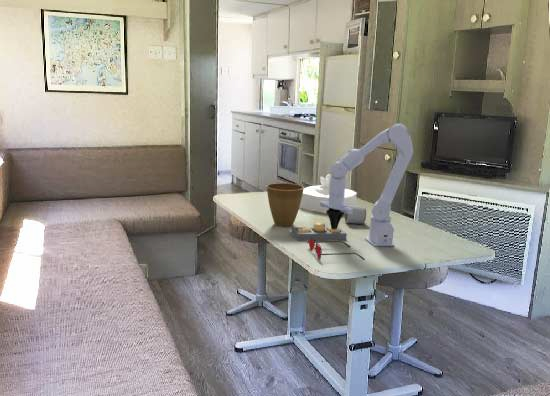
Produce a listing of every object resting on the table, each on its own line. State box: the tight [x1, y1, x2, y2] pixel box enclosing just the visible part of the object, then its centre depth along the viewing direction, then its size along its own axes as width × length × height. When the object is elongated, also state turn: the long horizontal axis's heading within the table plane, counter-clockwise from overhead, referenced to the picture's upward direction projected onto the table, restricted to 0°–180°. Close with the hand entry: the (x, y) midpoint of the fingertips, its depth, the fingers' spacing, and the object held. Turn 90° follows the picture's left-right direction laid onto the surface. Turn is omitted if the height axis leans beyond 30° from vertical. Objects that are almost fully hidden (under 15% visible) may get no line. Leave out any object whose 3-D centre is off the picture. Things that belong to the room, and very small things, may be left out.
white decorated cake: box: [299, 173, 358, 214], centre depth 241 cm, size 25×25×16 cm
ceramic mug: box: [344, 205, 367, 225], centre depth 215 cm, size 11×8×8 cm
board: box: [289, 226, 348, 241], centre depth 194 cm, size 13×19×2 cm
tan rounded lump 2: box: [328, 226, 341, 232], centre depth 194 cm, size 4×4×3 cm
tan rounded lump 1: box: [312, 221, 326, 232], centre depth 192 cm, size 4×4×3 cm
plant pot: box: [266, 182, 305, 228], centre depth 205 cm, size 15×15×16 cm
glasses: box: [306, 237, 366, 261], centre depth 173 cm, size 14×16×5 cm
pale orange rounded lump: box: [298, 226, 310, 233], centre depth 191 cm, size 4×4×3 cm
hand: (334, 228), depth 193 cm, fingers closed
